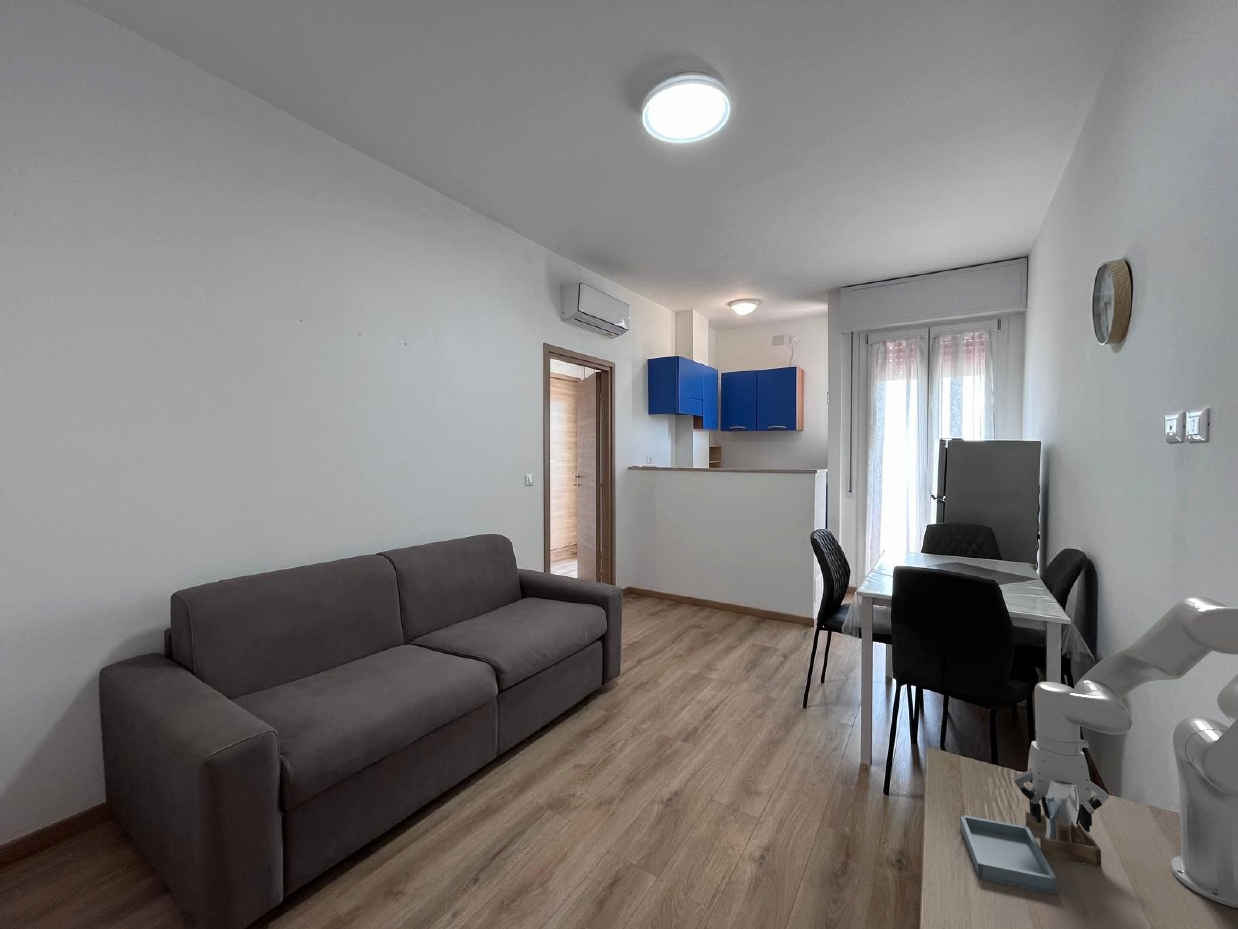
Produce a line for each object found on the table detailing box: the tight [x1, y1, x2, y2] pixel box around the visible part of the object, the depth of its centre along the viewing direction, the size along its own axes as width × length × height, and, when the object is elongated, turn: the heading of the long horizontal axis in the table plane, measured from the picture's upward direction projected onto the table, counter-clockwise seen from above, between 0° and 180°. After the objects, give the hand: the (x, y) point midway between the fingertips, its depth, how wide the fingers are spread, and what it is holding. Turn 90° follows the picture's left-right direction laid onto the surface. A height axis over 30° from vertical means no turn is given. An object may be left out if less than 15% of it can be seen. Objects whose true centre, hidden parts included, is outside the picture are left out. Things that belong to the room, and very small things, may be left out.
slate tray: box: [959, 814, 1059, 896], centre depth 113 cm, size 13×16×3 cm
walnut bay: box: [1024, 810, 1102, 867], centre depth 116 cm, size 10×10×4 cm
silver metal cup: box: [1040, 780, 1082, 844], centre depth 116 cm, size 7×7×15 cm
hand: (1060, 823), depth 116 cm, fingers open, 7 cm apart
